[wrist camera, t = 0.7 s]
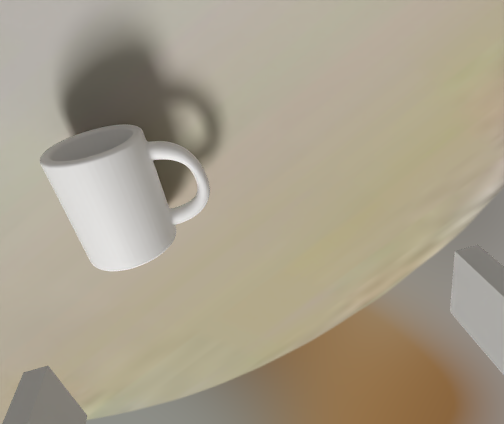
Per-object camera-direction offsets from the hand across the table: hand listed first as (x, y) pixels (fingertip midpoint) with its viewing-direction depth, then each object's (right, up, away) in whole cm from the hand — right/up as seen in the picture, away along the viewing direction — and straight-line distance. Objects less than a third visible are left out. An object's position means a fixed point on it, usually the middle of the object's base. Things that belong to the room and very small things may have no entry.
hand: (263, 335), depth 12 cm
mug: (-11, +8, +24) cm, 27 cm away
